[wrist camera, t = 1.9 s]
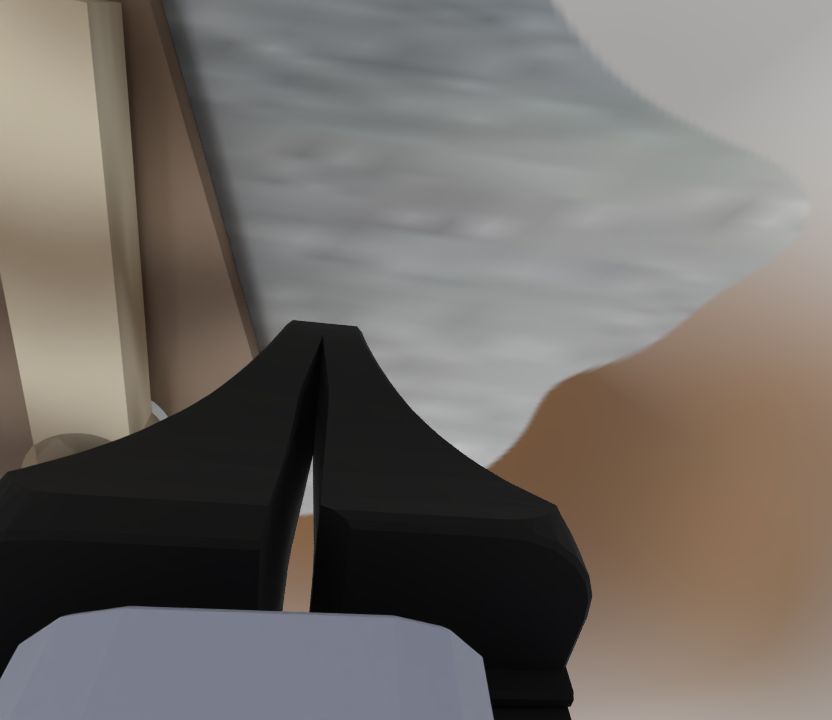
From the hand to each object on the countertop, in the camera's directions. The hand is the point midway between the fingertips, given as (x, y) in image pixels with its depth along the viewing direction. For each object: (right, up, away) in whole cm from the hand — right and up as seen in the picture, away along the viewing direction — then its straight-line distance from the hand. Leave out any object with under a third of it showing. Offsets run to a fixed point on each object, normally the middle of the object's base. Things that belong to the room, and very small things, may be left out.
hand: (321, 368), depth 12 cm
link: (-7, +2, +5) cm, 9 cm away
